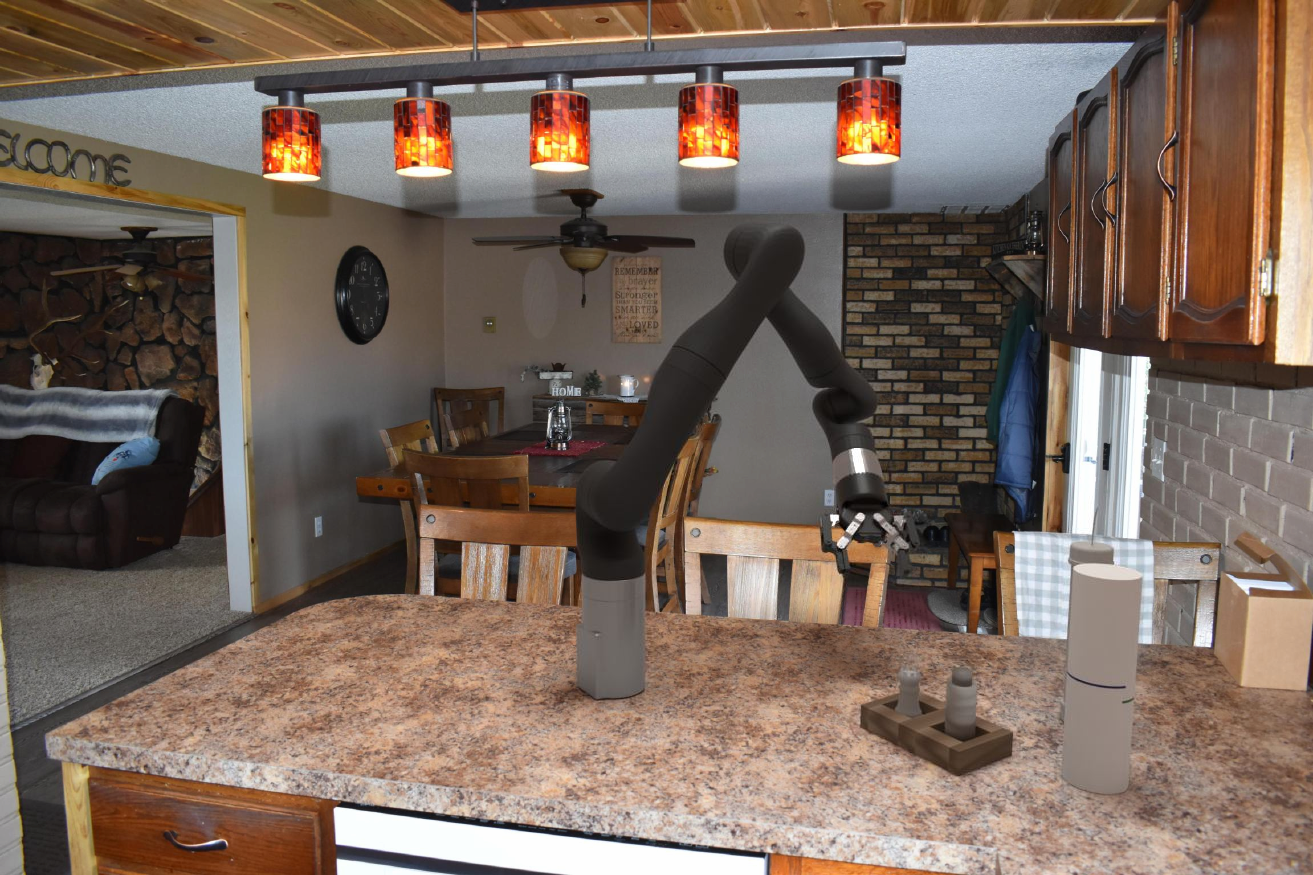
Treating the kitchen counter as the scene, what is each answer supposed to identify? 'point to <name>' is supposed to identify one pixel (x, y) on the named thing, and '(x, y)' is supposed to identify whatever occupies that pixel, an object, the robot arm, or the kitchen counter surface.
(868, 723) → the holder
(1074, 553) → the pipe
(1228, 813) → the kitchen counter surface
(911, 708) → the rook chess piece
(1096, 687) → the cylindrical container
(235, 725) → the kitchen counter surface
